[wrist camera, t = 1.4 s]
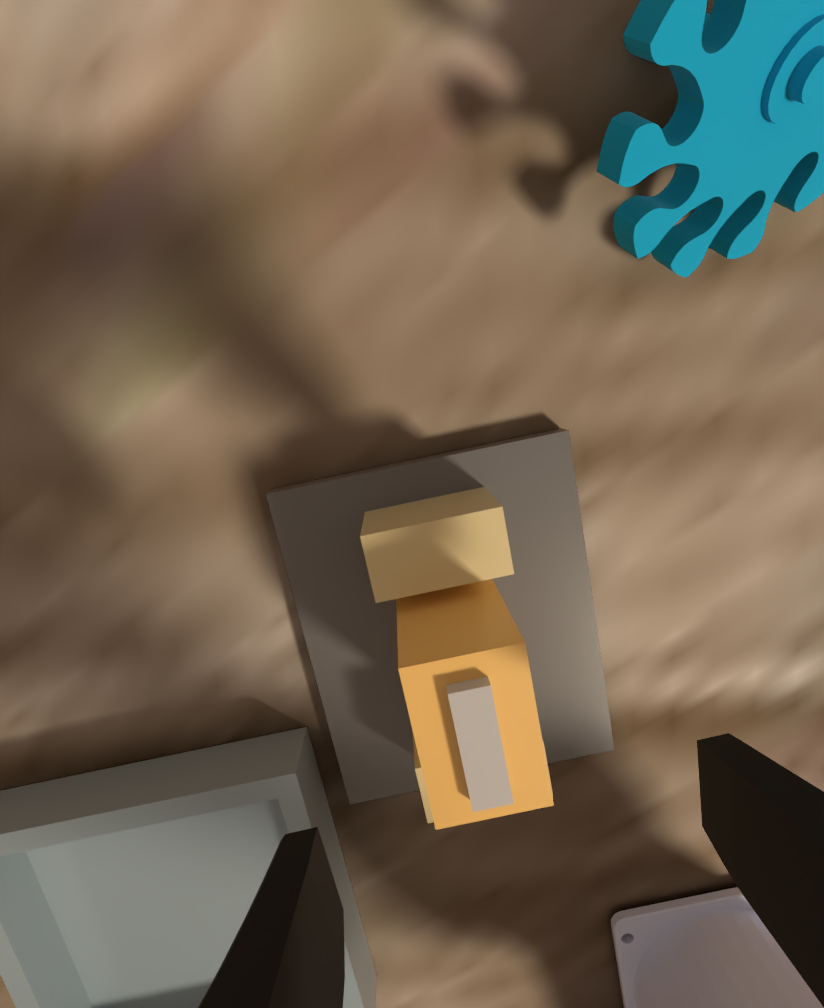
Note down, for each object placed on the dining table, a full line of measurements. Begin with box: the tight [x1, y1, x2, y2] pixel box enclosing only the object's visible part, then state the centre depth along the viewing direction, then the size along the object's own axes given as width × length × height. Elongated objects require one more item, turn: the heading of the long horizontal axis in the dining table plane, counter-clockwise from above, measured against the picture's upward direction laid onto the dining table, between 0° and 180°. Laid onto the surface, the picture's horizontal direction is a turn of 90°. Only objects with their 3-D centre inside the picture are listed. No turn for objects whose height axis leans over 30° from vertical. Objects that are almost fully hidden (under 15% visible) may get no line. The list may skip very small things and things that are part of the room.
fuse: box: [396, 579, 554, 830], centre depth 16 cm, size 4×3×6 cm, turn 12°
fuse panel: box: [266, 428, 614, 823], centre depth 18 cm, size 12×10×4 cm
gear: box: [597, 0, 824, 277], centre depth 14 cm, size 11×6×10 cm
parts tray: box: [0, 727, 376, 1008], centre depth 21 cm, size 12×12×2 cm
